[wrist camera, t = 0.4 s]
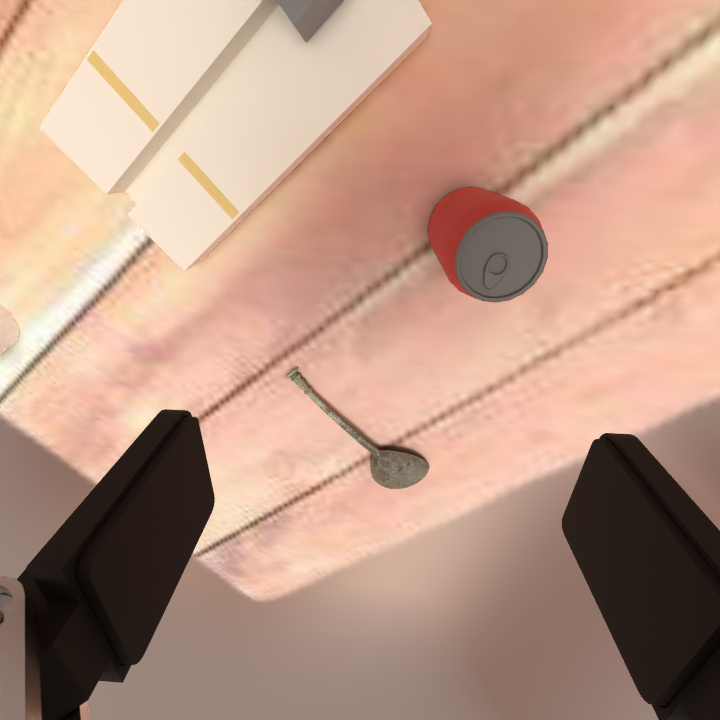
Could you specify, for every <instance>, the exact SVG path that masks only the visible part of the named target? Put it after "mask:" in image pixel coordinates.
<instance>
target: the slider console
mask: <svg viewBox="0 0 720 720" xmlns="http://www.w3.org/2000/svg"><path fill="white" fill-rule="evenodd" d="M431 25H432V22H431V21H430V19H429V17H428V16H427V14H426V12H425V10H424V9H423V7H422V5H421V4H420V2H419V0H343V1H342V3H341V4H340V5H339V6H338V7H337V8H336V9H335V10H334V12H333V13H332V14H331V15H330V16H329V17H328V18H327V20H326V21H325V22H324V23H323V24H322V25H321V26H320V27H319V29H318V30H317V31H316V32H315V33H314V34H313V35H312V36H311V38H310V39H309V40H308V41H307V42H305V41H304V39H303V38H302V36H301V35H300V34H299V32H298V31H297V29H296V28H295V27H294V25H293V24H292V22H291V21H290V19H289V18H288V17H287V15H286V14H285V12H284V11H283V9H282V8H281V7H280V5H279V4H278V2H277V1H276V0H123V1H122V3H121V5H120V6H119V8H118V9H117V11H116V12H115V14H114V15H113V17H112V18H111V20H110V21H109V23H108V24H107V26H106V27H105V29H104V30H103V32H102V33H101V35H100V36H99V38H98V39H97V41H96V42H95V44H94V45H93V47H92V48H91V50H90V51H89V53H88V54H87V56H86V57H85V59H84V60H83V62H82V63H81V65H80V66H79V68H78V69H77V71H76V72H75V74H74V75H73V77H72V78H71V80H70V81H69V83H68V84H67V86H66V87H65V89H64V90H63V92H62V93H61V95H60V96H59V98H58V99H57V101H56V102H55V104H54V105H53V107H52V108H51V110H50V111H49V113H48V114H47V116H46V117H45V119H44V120H43V122H42V123H41V125H40V126H39V129H40V130H41V131H42V132H43V133H45V134H46V135H47V136H48V137H49V138H50V139H51V140H52V141H53V142H54V143H55V144H56V145H57V146H58V147H59V148H60V149H61V150H62V151H63V152H64V153H65V154H66V155H67V156H68V157H69V158H70V159H71V160H72V161H73V162H74V163H75V164H76V165H77V166H78V167H79V168H80V169H81V170H82V171H83V172H84V173H85V174H86V175H87V176H88V177H89V178H90V179H91V180H92V181H93V182H94V183H95V184H96V185H97V186H98V187H99V188H100V189H101V190H102V191H103V192H104V193H106V194H113V193H120V192H125V193H126V194H127V195H128V196H129V197H130V198H131V199H132V200H133V201H134V202H135V203H136V205H135V206H134V207H133V209H132V210H131V211H130V212H129V213H128V214H127V215H128V216H129V217H130V218H131V219H132V220H133V221H134V222H135V223H136V224H137V225H138V226H139V227H140V228H141V229H142V230H143V231H144V232H145V233H146V234H147V235H148V236H149V237H150V238H151V239H152V240H153V241H154V242H155V243H156V244H157V245H158V246H159V247H160V248H161V249H162V250H163V251H164V252H166V253H167V254H168V255H169V256H170V257H171V258H172V259H173V260H174V261H175V262H176V263H177V264H178V265H179V266H180V267H181V268H182V269H183V270H184V271H186V270H187V269H189V268H191V267H192V266H194V265H196V264H197V263H199V262H201V261H202V260H203V259H204V258H205V257H206V256H207V255H208V254H209V253H210V252H211V251H212V250H213V249H214V248H215V247H216V246H217V245H218V244H219V243H220V242H221V241H222V240H223V239H224V238H225V237H226V236H227V235H228V234H229V233H230V232H231V231H232V230H233V229H234V228H235V227H236V226H237V225H238V224H239V223H240V222H241V221H242V220H243V219H244V218H245V217H246V216H247V215H248V214H249V213H250V212H251V211H252V210H253V209H254V208H255V207H256V206H257V205H258V204H259V203H260V202H261V201H262V200H263V199H264V198H265V197H266V196H268V195H269V194H270V193H271V192H272V191H273V190H274V189H275V188H276V187H277V186H278V185H279V184H280V183H281V182H282V181H283V180H284V179H285V178H286V177H287V176H288V175H289V174H290V173H291V172H292V171H293V170H294V169H295V168H296V167H297V166H298V165H299V164H300V163H301V162H302V161H303V160H304V159H305V158H306V157H307V156H308V155H309V154H310V153H311V152H312V151H313V150H314V149H315V148H316V147H317V146H318V145H319V144H320V143H321V142H322V141H323V140H324V139H325V138H326V137H327V136H328V135H329V134H330V133H331V132H332V131H333V130H334V129H335V128H336V127H337V126H338V125H339V124H340V123H341V122H342V121H343V120H344V119H345V118H346V117H347V116H348V115H349V114H350V113H351V112H352V111H353V110H354V109H355V108H356V107H357V106H358V105H359V104H360V103H361V102H362V101H363V100H364V99H365V98H366V97H367V96H368V95H369V94H370V93H371V92H372V91H373V90H374V89H375V88H376V87H377V86H378V85H379V84H380V83H381V82H382V81H384V80H385V79H386V78H387V77H388V76H389V75H390V74H391V73H392V72H393V71H394V70H395V69H396V68H397V67H398V66H399V65H400V64H401V63H402V62H403V61H404V60H405V59H406V58H407V57H408V56H409V55H410V54H411V53H412V52H413V51H414V50H415V49H416V48H417V47H418V46H419V45H420V44H421V43H422V42H423V41H424V40H425V39H426V38H427V36H428V33H429V30H430V28H431Z"/></svg>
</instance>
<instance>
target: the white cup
mask: <svg viewBox="0 0 720 720" xmlns="http://www.w3.org/2000/svg"><path fill="white" fill-rule="evenodd" d="M19 334H20V332H19V328H18V324H17V322H16V321H15V319H14V318H13V316H12V315H11V314H10V313H9V312H8V311H7V310H6V309H5V308H3V307H2V306H1V305H0V353H2V352H3V351H5V350H7V349H8V348H10V347H11V346H13V345H14V344H15V343H16V342H17V341H18V339H19Z"/></svg>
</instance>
